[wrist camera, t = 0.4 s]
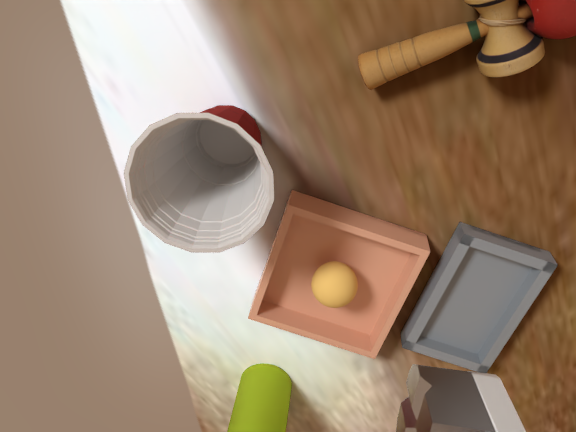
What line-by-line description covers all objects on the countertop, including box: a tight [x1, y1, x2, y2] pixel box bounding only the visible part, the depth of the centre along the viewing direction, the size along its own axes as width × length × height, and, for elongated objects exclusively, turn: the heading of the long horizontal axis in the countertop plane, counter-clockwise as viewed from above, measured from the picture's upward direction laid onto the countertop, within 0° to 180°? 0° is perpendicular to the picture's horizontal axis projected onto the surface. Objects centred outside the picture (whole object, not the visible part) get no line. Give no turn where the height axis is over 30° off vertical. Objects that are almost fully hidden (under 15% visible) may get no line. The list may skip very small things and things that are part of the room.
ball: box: [311, 261, 358, 308], centre depth 52 cm, size 4×4×4 cm
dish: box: [248, 190, 430, 359], centre depth 53 cm, size 13×13×3 cm
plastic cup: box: [124, 106, 274, 252], centre depth 44 cm, size 11×11×12 cm
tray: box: [401, 222, 557, 373], centre depth 53 cm, size 14×9×2 cm, turn 162°
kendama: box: [358, 0, 576, 90], centre depth 41 cm, size 8×6×18 cm
